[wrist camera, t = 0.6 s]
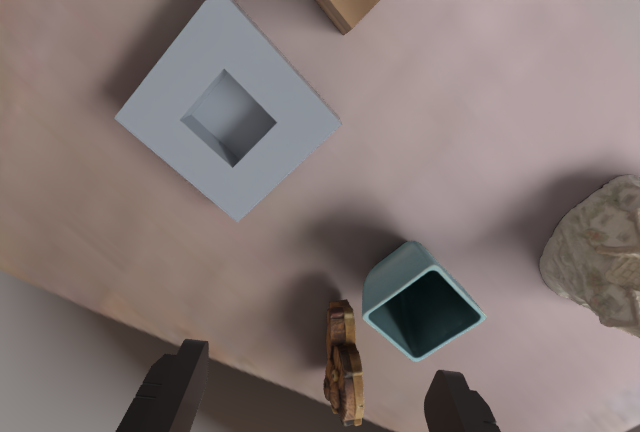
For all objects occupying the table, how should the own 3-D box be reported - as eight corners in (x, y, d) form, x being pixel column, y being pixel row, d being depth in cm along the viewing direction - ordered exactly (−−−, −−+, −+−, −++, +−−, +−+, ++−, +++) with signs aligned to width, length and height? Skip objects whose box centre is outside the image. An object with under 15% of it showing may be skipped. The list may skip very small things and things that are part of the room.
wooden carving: (313, 287, 42) (313, 351, 33) (350, 283, 41) (360, 347, 32) (328, 379, 49) (331, 453, 40) (360, 376, 48) (370, 450, 39)
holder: (228, -7, 28) (216, -15, 25) (339, 117, 33) (341, 124, 30) (133, 112, 32) (113, 118, 29) (244, 208, 37) (237, 222, 34)
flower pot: (350, 265, 40) (359, 318, 32) (409, 218, 38) (435, 263, 30) (396, 306, 43) (415, 364, 35) (454, 265, 40) (489, 318, 32)
